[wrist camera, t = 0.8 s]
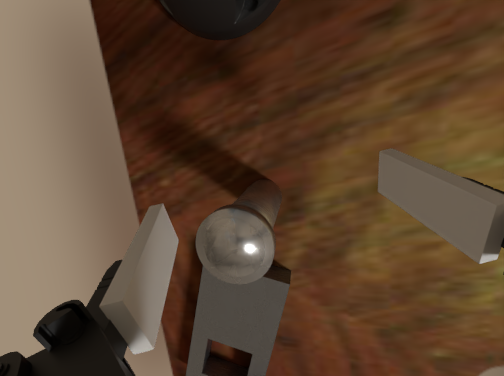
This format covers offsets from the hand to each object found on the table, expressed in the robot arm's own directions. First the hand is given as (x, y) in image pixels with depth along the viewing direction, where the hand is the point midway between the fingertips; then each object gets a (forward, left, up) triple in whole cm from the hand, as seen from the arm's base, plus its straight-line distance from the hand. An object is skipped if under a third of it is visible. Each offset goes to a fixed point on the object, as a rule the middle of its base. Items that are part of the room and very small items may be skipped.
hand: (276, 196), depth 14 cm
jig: (+24, -2, -15) cm, 29 cm away
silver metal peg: (+4, -2, -15) cm, 16 cm away
